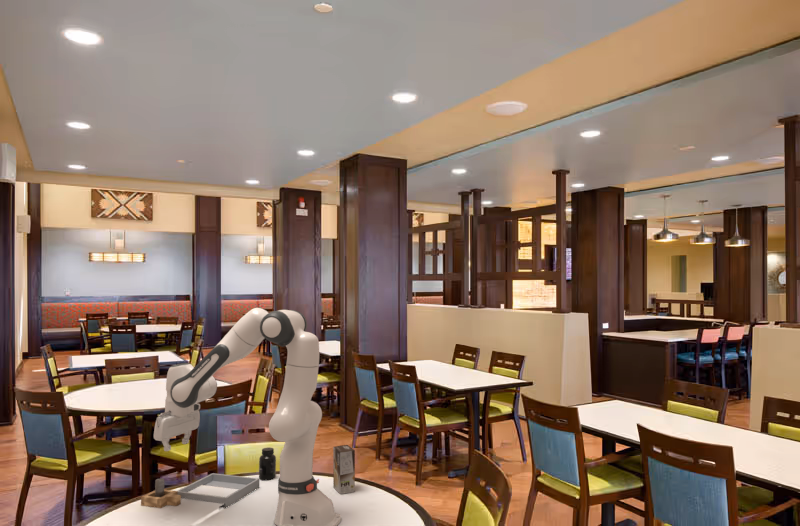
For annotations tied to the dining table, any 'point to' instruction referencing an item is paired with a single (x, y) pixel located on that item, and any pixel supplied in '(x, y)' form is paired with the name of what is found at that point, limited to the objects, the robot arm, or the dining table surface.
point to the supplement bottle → (267, 464)
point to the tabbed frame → (161, 499)
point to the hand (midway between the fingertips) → (176, 447)
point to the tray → (224, 481)
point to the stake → (159, 488)
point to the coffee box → (344, 469)
